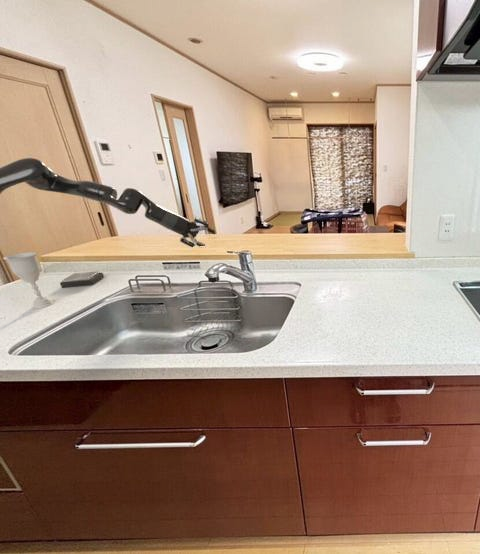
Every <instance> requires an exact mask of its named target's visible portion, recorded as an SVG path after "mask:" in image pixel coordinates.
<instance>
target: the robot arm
mask: <svg viewBox="0 0 480 554" xmlns="http://www.w3.org/2000/svg"><path fill="white" fill-rule="evenodd" d="M22 183H25V184H27V185H28V186H29V187H31V188H33V189H36V190H39V191H45V192H51V193H52V192H53V193H59V194H65V195H72V196H76V197H80V198H83V199H84V198H85V199H88V200H92V201H96V202H99V203H103V204H106V205H109V206H111V207H113V208H115V209H117V210H118V211H120V212H122V213H124V214H126V215H135V214H137V213H138V211H139V210H140V208H141V206H143V207H144V209H145V211H144V218H146V219H147V220H149V221H151V222H154V223H156V224H158V225H160V226H161V227H163V228H165V229H167V230H170V231H172V232H174V233H176V234H178V235H181V236H182V237H180V239H179V241H180V243H182V244H184V245H186V246H188V247H190V248H194V247H195V246H197V247H200V246H205V245H206V243H203V242H201V241H199V240H197V238H196V237H197V235H198V234H199V233H200V232H201V231H207V232H208V233H211V234H213V235H216V230H215V229H214V228H212V227H210V226H209V222H208V221H207V220H205V219H202V218H200V217H198V216H195V217H194V219H193V221H191V220H189V219H187V218H186V217H183V216H181V215H180V214H178V213H175V212H173V211H171V210H168V209H166V208H164V207H162V206H160V205H159V204H157V203H156V202H154V201H153V200H151V199H150V198H149V197H147V196H146V195H145V194H143V192H141V191H140V190H138V189H136V188H133V187H128V188H125V189H124V190H123V191H122V193H121V194H120V196H119V197H118V192H117V189H115V187H112V186H111V185H110V186H109V185H106V184H102V183H99V182H95V181H90V180H75V179H70V178H66V177H64V176H62V175H59V174H57V173H55V172H54V171H53V170H52V169H51V168H50V167H49V166H47V164H45V163H44V162H43V161H41V160H39V159H37V158H33V157H26V158H25V157H23V158H20V159H17V160H15V161H12V162H10V163H8V164H5V165H3V166H1V167H0V195H1V194H3V192H5V190H7V189H9V188H11V187H14V186H16V185H20V184H22ZM187 238H188V239H190V240H188V239H187Z"/></svg>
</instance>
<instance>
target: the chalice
mask: <svg viewBox="0 0 480 554" xmlns="http://www.w3.org/2000/svg"><path fill="white" fill-rule="evenodd" d="M2 259H3V260H5V262H7V263H8V266H9V268H10V269H11V272H12V274H14V275H15V276H16V277H18V278H19V279H20V280H22V281H23V282H25V283H28V284H29V283H30V284H31V289H32V290H33V294H34V295H36V298H35V299H34V300H33V302H32V303H33V304H32V309H42V308H47V307H50V306H51V305H53V304H54V301H52V300H51V299H50V298H49V297H46V296H42V295H41V293H42V291H41V290H39V285H37V284H36V282H37V281H38V280H39V279H40V274H41V266H40V263H39V261H38V259H37V252H34V251H33V252H21V253H15V254H9V255H7V256H3V257H2Z"/></svg>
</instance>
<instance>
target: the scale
mask: <svg viewBox="0 0 480 554" xmlns="http://www.w3.org/2000/svg"><path fill="white" fill-rule="evenodd" d="M104 277H105V276H104V273H103V272H101V271H99V270H96V271H95V270H94V271H85V272H74V273H72V274H70V275H69V276H66V277H65V278H64V279H62V280H61V281H60V282H59V285H60V287H61V289H66V288H77V287H78V288H79V287H87V286H94V285H96V284H97V283H98V282H99V281H101V280H103V278H104Z"/></svg>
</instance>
